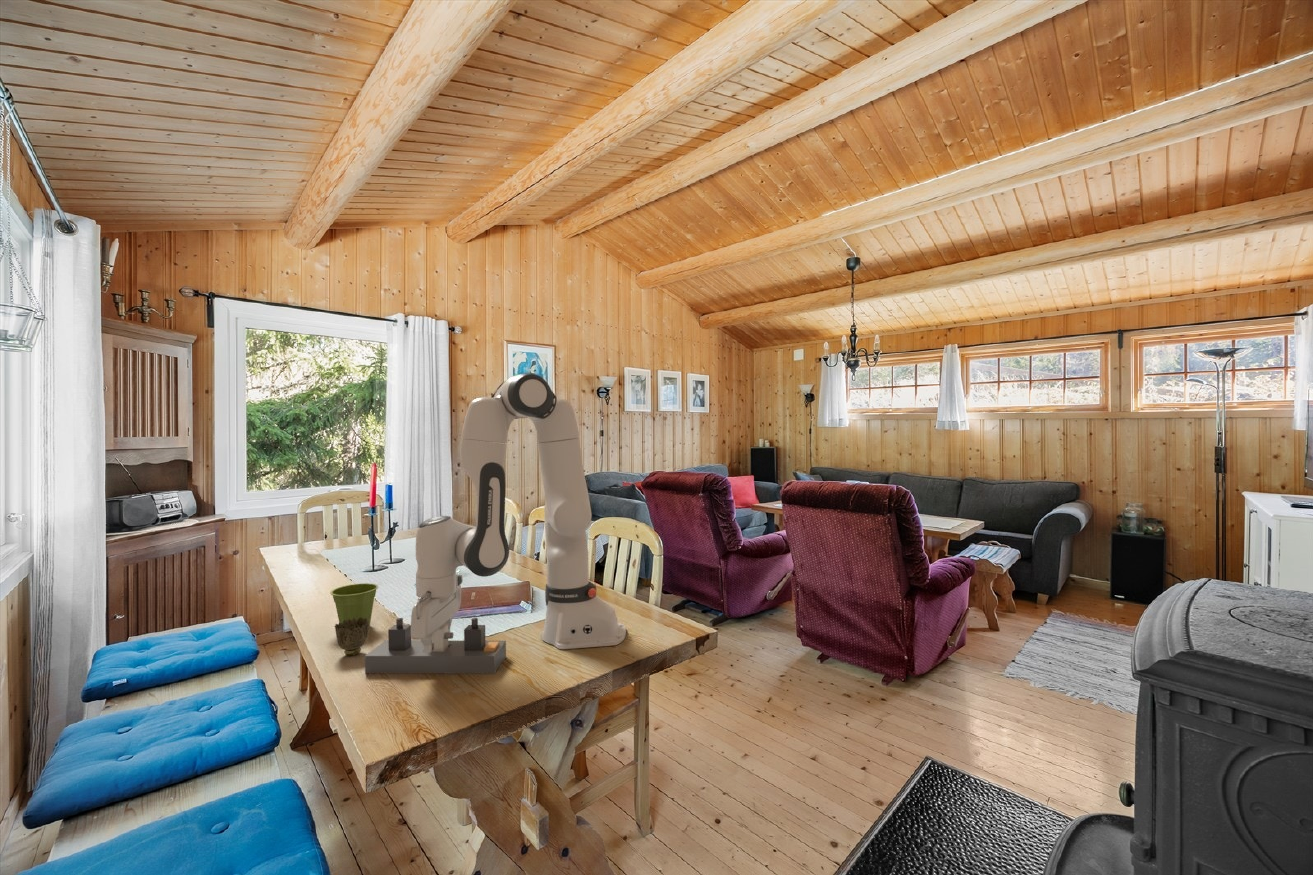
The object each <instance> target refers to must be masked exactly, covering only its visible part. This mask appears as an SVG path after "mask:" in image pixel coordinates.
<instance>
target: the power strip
mask: <svg viewBox="0 0 1313 875" xmlns="http://www.w3.org/2000/svg"><path fill="white" fill-rule="evenodd" d="M478 618H479V617H473V618H471V624H468V625H467V626H466V627H465V628H464V630H463V637H464V638H463V640H448V649H447V650H446V651H445V652H431V653H425V652H424V645H423V644H422V641H421V640H412V637H411V624H404V620H403V619H404V618H403V617H398V618H396V619H395V620H396V622H395V623H396V624H394V625H392V626H391V627H390V628H388V629H387V632H388V634H387V635H388V636H387V640H384V641H383V642H381V643H380V644H378V645H376V647H375V648H373V649H372V650H370V651H369V652H368V653H366V655H364V669H365V670H364V673H365V674H496V672H497V670H498V669H499V668H500V667H501V665H502V663H503V662H504V660H505V659H506V658H507V641H506V640H486V624H479V622H478V621H479V619H478Z"/></svg>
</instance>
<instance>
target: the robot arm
mask: <svg viewBox="0 0 1313 875" xmlns="http://www.w3.org/2000/svg"><path fill="white" fill-rule="evenodd" d="M527 418H528V419H529V420H531V421H532V423H533V424H534V428H535V431H536V439H537V440H536V442H537V447H538V448H537V450H538V455H539V456H538V458H539V465H540V472H541V479H542V484H543V489H544V495H545V503H544V506H543V507H544V527H545V528H544V529H545V532H544V533H545V547H546V581H547V582H546V584H545V589H544V598H545V606H546V612H545V621H544V625H543V629H542V630H543V631H542V634H541V639H542V641H544V642H546V643H547V644H550V645H553V646H554V647H556V648H557V649H559V650H570V649H583V648H594V647H596V648H598V647H610V646H617V645H619V644H621V643H622V642H623V641H624V640H625V638H626V635H627V631H626V630H627V629H626V626H625V624H623V623H621V622H619V621H618V617H617V612H616V610H615V608H614V606H612V605H610V604H609V603H607V602H606V601H605V600H603V599H602V598H600V597H599V596H598V595H597V584H596V582H594V583H592V582H591V581H590V578H589V576H590V575H589V571H590V570H589V549H588V540H587V530H588V528H589V527H590V525H591V522H592V516H593V514H592V508H591V503H590V502H591V501H590V496H589V491H588V490H589V489H588V484H587V482H586V476H585V471H584V465H583V457H582V450H581V441H580V434H579V432H580V431H579V427H578V422H577V418H576V415H575V412H574V409H573V406H572V404H571V403H570V402H569V401H568V400H566V399H563V398H560V397H559V398H557V396H556V395H555V393H554V391H553V390H552V389H551V386H550V385H549V384H548V382H547V381H546V379H544V377H542V376H540V375H539V374H537V373H533V372H523V373H521V374H515V375H513V376H511V377H510V378H508V379H507V380H504V381H503V382H502V383H501V384H500V385H499V386H498V387H497V388H496V390H495V391H494V393H493V394H492V395H491V396H482V397H478V398H475V399H473V400H471V402H469V405H468V407H467V409H466V412H465V417H464V420H463V426H462V431H461V437H460V444H459V458H460V459H459V460H460V467H461V468H462V469H463V471H464V473H465V474H466V475H467V476H468V477H469V479H470V480H471V482H472V484H473V485H474V488H475V492H476V497H477V499H476V500H477V502H476V518H475V520H476V523H475V525H471V524H466V523H463V522H460V521H458V520H457V519H454V518H453V517H452V516H449V515H440V516H439V515H438V516H434V517H430V518H427V519H425V520H424V521H422V522H421V523H420V524H419V525H418V527H417V530H416V535H415V561H416V563H417V568H416V572H415V586H416V587H415V588H416V590H415V591H416V597H418V599H417V602H416V603H415V604H414V605H413V607H412V611H411V616H410V625H411V639H413V640H418V641H422V644H423V645H424V652H425V653H431V652H432V651H433V650H434V643H432V639H431V638H432V634H433V633H434V632H435V631H436V630H437V629H439V628H440V627H441V626H442V625H448V632H451V627H452V626H451V625H452V622H453V616H454V615H455V614H456V613H457V612H459V610H460V608H461V604H462V603H461V602H462V586H461V584H463V579H464V578H463V575H462V574H457V568H458V567H462V566H463V567H465V568H467V569H468V570H469V571H471V573H473V574H474V575H476V576H478V577H482V578H483V577H491V576H493V575H495V574H498V573H499V572H500V571H501V570H502V569H503V568H504V566H506V564H507V562H508V559H509V557H510V546H509V542H508V540H507V536H506V530H505V517H506V516H505V515H506V458H507V449H508V448H507V447H508V445H507V443H508V435H509V434H508V433H509V432H508V431H510V430H509V429H510V427H511V425H512V422H513V421H514V420H517V419H527Z"/></svg>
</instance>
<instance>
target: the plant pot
mask: <svg viewBox="0 0 1313 875" xmlns="http://www.w3.org/2000/svg"><path fill="white" fill-rule="evenodd" d="M378 589H379V585H378V584H376V583H362V582H361V583H354V584H353V583H352V584H347V585H342V586H339V587H337V588H334V589H332V590H331V591H330V595H331V596H332V598H333V603H335V609H336V613H337V618H338V623H339V622H341V623H343V621H344V620H346V621H347V620H348V619H350V620H351V621H352V620H353V618H356V620H358V619H359V618H360V617H362V618H364V619H365V618H366V619H367V622H368V620H369V624H368V628H369V627H370V626H371V621H372V614H373V606H374V602H375V598H376V593H377V590H378ZM352 622H353V621H352Z"/></svg>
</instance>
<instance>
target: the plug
mask: <svg viewBox="0 0 1313 875" xmlns="http://www.w3.org/2000/svg"><path fill="white" fill-rule="evenodd" d="M453 638H454V632H451V631H450V632H448V625H442V626H441V627H440V628H439V629H437V630H436V631H435V632H434V633H433V634H432V638H431V639H432V643H434V650H433V651H432V652H445V651H446V650H447V649H448V641H449V639H451V640H453Z"/></svg>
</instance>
